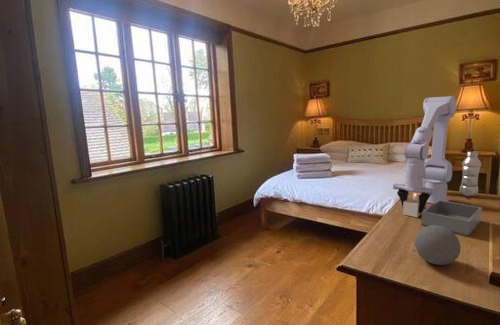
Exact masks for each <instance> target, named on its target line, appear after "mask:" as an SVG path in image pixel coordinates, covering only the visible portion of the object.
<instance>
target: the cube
mask: <svg viewBox="0 0 500 325" xmlns="http://www.w3.org/2000/svg"><path fill="white" fill-rule="evenodd" d="M402 215H405V216H408V217H414V218H419V217H420V216H422V213H419V201H418V200H413V198H407V200H406V201H404V202H403V207H402Z"/></svg>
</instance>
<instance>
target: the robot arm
mask: <svg viewBox="0 0 500 325" xmlns="http://www.w3.org/2000/svg"><path fill="white" fill-rule="evenodd" d="M456 100H457V99H456V97H454V95H450V96H435V97H434V96H433V97H426V98H425V99H424V100H423V103H422V109H423V112H424V116H423V120H422V122H421V126H420V127H418V128H416V129H415V132H414V134H413V136H412V139H411V141H410V143H409V144H406V146H405V147H404V151H403V153H404V158H405V159H404V161H405V163H406V170H405V184H404V183H403V184H402V183H393V184H392V190H395V191H396V190H398V191H397V193H396V194H397V195H398V197H399V199H400V201H401V206H402V208H403V202H404V201H406V200H407V199H409V192H410V193H413V192H415V193H421V194H420V195H419V213H422V211H423V209H424V206H425V204H426V202H427V204H428V203H429V204H431V205H432V204H433V203H435V202H436V201H438V200H441V201H447V202H450V199H449V198H447V197H448V195H447V194H448V184H447V183H449V182H451V180H452V178H453V165H452V163H451V162H450V161H448V159H446V150H447V149H446V148H447V141H448V140H447V138H448V130H449V122H450V119H452V118H454V117H455V115H456V108H457V107H456V106H457V101H456ZM431 140H432V145H431V153H430V154H431V155H430V158H429V159H427V158H428V156H429V150H430V145H429V144H430V142H431ZM432 165H439V166H432ZM423 179H425V181H426V187H423Z"/></svg>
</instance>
